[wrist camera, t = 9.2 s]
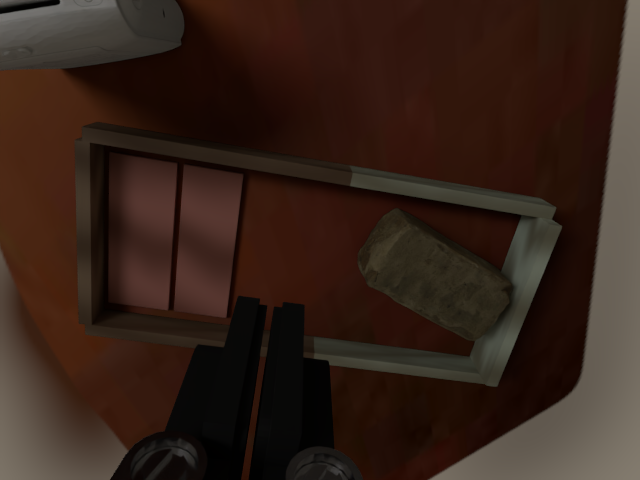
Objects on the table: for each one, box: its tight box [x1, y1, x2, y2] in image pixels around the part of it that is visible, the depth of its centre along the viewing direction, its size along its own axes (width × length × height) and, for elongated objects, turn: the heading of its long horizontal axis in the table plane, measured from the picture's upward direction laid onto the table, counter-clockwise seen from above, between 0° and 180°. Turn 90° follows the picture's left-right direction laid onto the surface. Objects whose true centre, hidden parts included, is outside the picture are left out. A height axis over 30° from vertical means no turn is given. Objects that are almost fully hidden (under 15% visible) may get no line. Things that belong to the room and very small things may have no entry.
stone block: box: [358, 208, 513, 341], centre depth 36 cm, size 6×12×5 cm, turn 59°
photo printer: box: [0, 0, 184, 70], centre depth 25 cm, size 10×4×12 cm, turn 99°
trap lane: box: [75, 122, 562, 387], centre depth 36 cm, size 17×36×4 cm, turn 80°
